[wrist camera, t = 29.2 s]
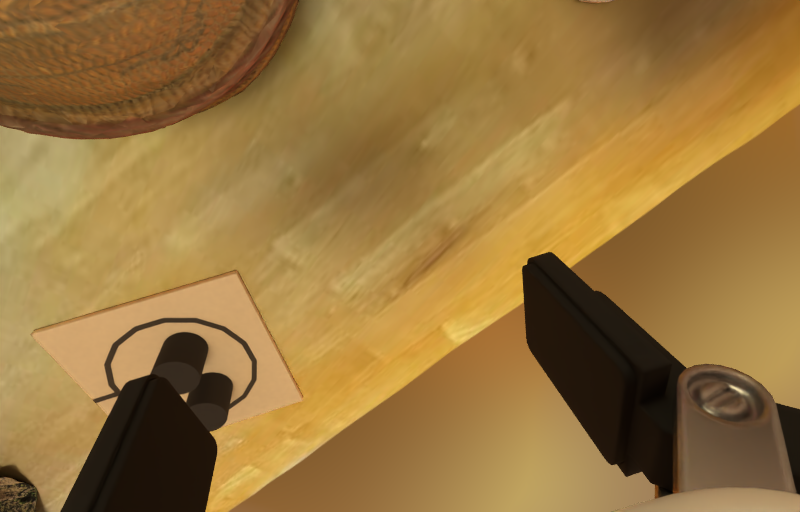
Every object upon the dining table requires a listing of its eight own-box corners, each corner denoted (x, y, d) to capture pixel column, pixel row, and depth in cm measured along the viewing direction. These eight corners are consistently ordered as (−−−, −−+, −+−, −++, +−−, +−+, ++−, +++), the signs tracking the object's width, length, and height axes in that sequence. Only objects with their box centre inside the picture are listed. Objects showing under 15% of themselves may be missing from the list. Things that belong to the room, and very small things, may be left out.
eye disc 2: (239, 392, 43) (234, 424, 39) (202, 404, 42) (194, 437, 39) (223, 367, 40) (216, 398, 37) (183, 379, 40) (173, 411, 37)
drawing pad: (237, 269, 36) (236, 273, 36) (303, 396, 46) (303, 401, 45) (33, 330, 35) (29, 335, 34) (145, 448, 44) (143, 454, 44)
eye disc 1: (215, 356, 40) (208, 386, 36) (175, 368, 39) (164, 400, 36) (196, 326, 37) (186, 356, 34) (154, 339, 37) (139, 370, 34)
